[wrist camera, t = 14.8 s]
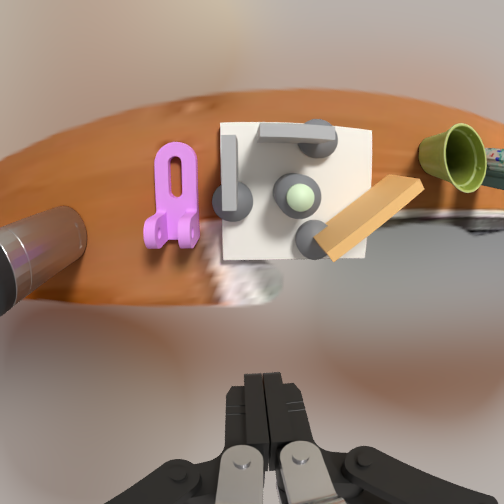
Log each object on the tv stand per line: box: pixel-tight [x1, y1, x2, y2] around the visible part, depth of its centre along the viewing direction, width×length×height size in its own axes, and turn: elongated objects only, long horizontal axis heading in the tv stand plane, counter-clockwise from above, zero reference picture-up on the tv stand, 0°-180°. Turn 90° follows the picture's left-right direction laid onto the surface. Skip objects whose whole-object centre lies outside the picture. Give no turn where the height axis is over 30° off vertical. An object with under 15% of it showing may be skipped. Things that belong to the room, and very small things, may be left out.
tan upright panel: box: [295, 174, 424, 262], centre depth 32 cm, size 16×5×8 cm, turn 128°
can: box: [481, 148, 504, 190], centre depth 27 cm, size 6×6×15 cm
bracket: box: [144, 142, 200, 249], centre depth 33 cm, size 13×6×7 cm, turn 0°
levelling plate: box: [212, 119, 372, 260], centre depth 31 cm, size 21×18×10 cm
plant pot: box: [419, 123, 487, 193], centre depth 30 cm, size 9×9×9 cm
